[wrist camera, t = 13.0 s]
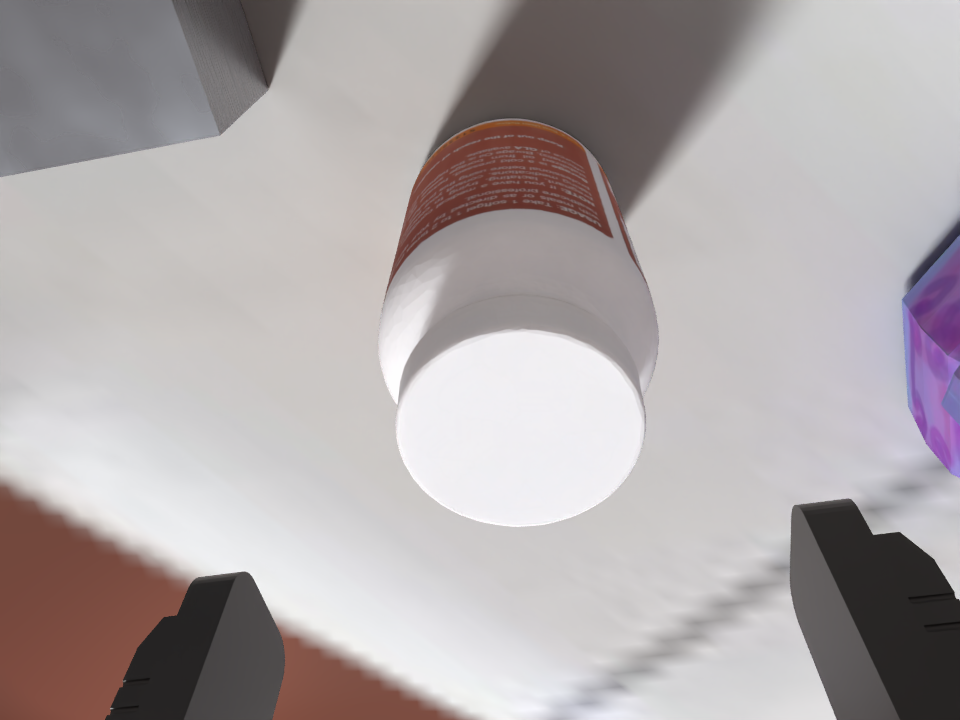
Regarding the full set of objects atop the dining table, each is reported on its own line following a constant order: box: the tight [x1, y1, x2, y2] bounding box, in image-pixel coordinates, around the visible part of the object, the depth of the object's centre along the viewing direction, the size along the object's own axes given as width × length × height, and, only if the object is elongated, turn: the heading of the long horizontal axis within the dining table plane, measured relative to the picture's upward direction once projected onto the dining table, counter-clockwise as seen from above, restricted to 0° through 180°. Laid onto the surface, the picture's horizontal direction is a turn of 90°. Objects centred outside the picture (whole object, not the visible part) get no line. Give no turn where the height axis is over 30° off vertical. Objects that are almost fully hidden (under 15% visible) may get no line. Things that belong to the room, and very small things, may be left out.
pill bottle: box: [378, 118, 659, 527], centre depth 19 cm, size 6×6×11 cm
